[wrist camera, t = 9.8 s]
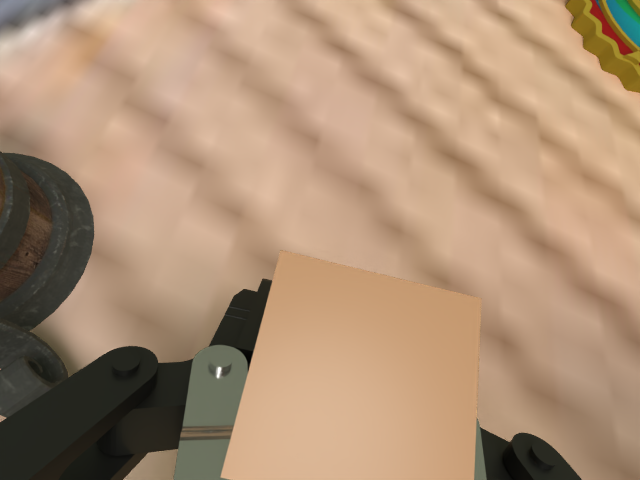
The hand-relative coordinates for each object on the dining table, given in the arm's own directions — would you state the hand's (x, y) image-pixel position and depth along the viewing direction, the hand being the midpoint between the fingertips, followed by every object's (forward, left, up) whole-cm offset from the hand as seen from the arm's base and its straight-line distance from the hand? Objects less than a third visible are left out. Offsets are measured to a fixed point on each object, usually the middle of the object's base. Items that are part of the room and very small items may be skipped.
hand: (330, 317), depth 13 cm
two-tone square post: (+2, +1, -5) cm, 5 cm away
